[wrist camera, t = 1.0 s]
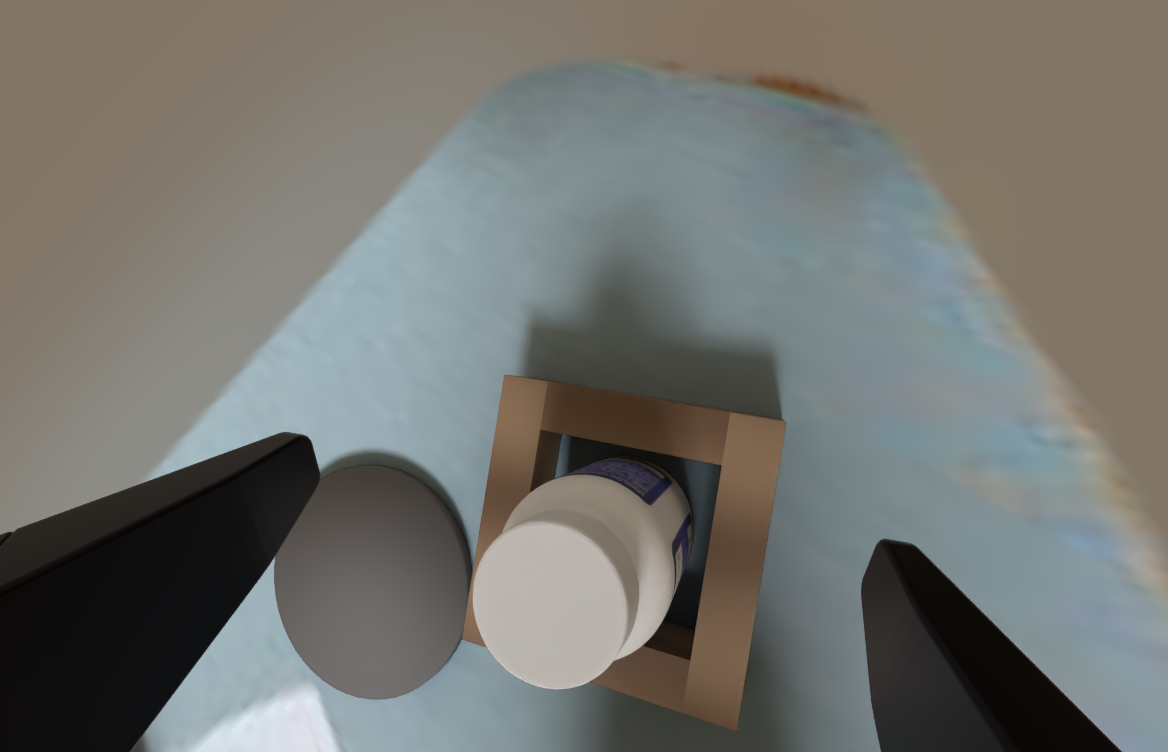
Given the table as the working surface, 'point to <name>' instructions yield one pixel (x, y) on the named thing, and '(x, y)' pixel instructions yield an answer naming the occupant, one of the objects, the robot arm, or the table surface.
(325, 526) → the mat
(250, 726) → the table surface
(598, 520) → the pill bottle
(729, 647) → the collar block
